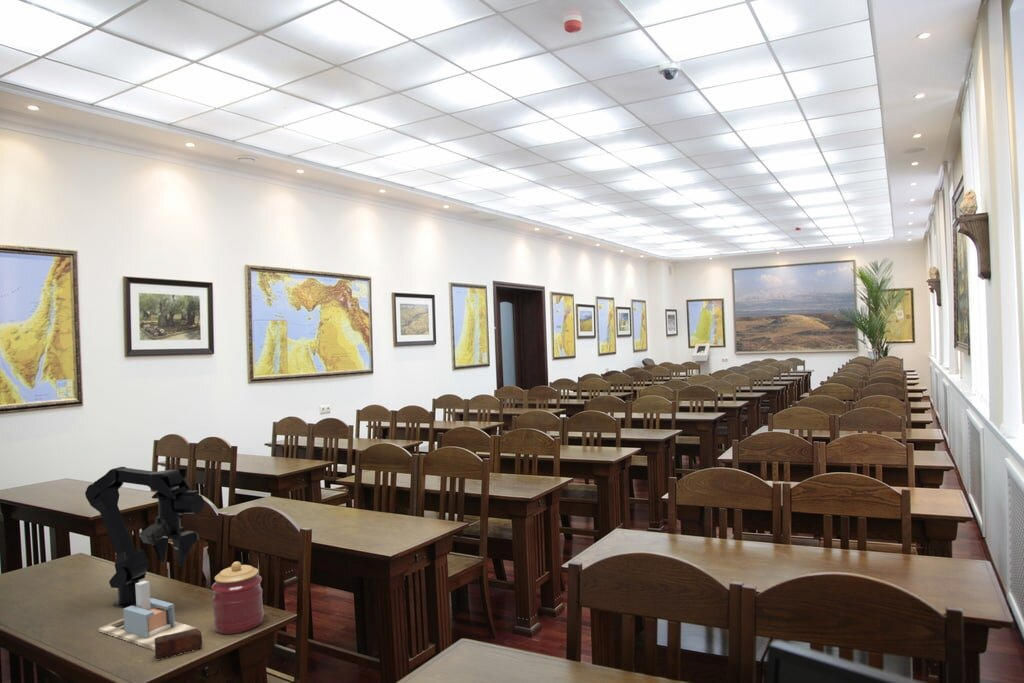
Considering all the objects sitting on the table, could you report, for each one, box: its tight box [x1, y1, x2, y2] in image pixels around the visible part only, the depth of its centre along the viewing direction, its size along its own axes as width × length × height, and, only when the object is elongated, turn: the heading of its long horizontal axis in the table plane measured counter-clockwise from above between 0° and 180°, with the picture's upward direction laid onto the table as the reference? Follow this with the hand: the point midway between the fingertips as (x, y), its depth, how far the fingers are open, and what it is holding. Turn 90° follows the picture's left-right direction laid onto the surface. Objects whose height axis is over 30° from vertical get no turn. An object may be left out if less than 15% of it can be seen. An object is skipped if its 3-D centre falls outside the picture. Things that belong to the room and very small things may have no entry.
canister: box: [211, 561, 265, 635], centre depth 183 cm, size 13×13×18 cm
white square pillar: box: [135, 580, 171, 636], centre depth 181 cm, size 9×6×12 cm, turn 60°
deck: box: [97, 617, 199, 651], centre depth 181 cm, size 27×12×1 cm, turn 60°
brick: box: [154, 629, 203, 660], centre depth 168 cm, size 11×4×5 cm, turn 122°
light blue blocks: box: [123, 597, 176, 639], centre depth 181 cm, size 10×8×6 cm
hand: (171, 563), depth 199 cm, fingers open, 9 cm apart
